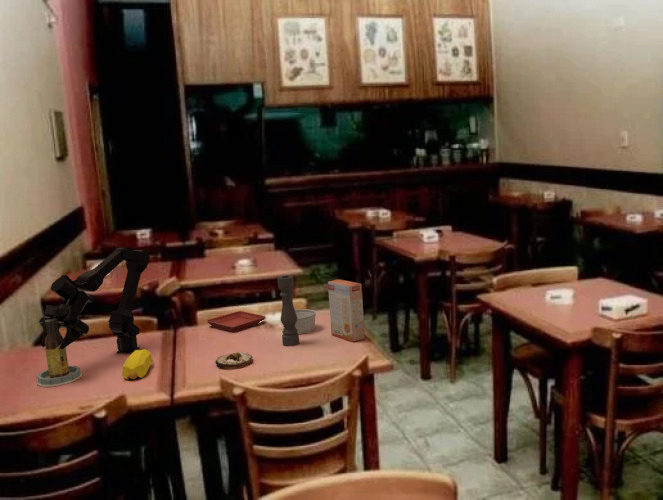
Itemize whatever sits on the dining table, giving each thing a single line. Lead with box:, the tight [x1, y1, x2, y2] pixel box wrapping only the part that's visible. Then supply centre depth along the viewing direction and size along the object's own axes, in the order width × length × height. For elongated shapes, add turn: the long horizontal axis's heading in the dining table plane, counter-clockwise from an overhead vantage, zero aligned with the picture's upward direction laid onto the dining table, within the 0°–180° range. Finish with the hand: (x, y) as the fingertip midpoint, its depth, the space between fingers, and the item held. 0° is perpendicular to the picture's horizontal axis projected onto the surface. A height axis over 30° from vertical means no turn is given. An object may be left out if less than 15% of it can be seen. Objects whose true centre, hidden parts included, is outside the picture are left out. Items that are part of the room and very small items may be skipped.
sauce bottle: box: [44, 317, 69, 378], centre depth 214 cm, size 6×6×20 cm
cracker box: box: [327, 279, 366, 343], centre depth 237 cm, size 14×6×21 cm, turn 34°
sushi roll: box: [215, 351, 253, 371], centre depth 218 cm, size 15×15×4 cm
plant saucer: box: [206, 310, 267, 333], centre depth 267 cm, size 18×18×3 cm
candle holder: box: [277, 274, 300, 347], centre depth 234 cm, size 6×6×25 cm
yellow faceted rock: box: [121, 348, 154, 380], centre depth 216 cm, size 18×7×8 cm
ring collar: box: [36, 365, 83, 388], centre depth 215 cm, size 14×14×2 cm
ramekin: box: [295, 308, 317, 335], centre depth 252 cm, size 13×13×7 cm
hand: (51, 347), depth 212 cm, fingers open, 9 cm apart
